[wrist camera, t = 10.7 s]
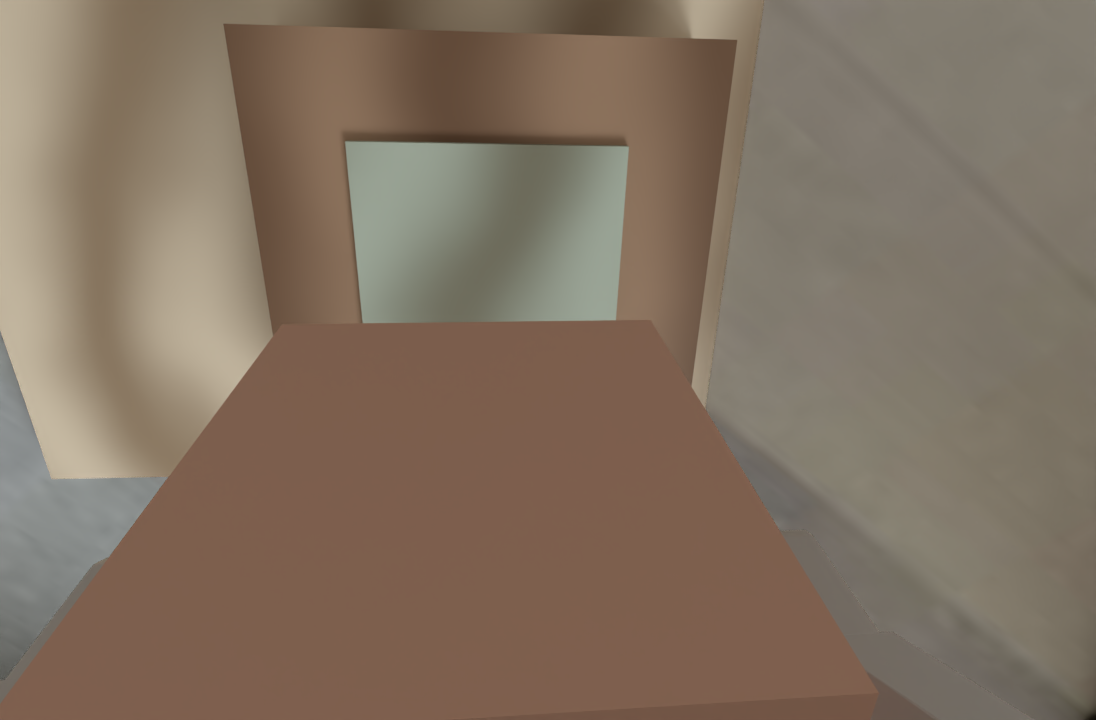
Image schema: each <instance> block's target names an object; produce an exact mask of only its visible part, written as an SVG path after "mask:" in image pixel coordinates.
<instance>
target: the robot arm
mask: <svg viewBox="0 0 1096 720" xmlns="http://www.w3.org/2000/svg"><path fill="white" fill-rule="evenodd" d="M780 532H781V534H782V535H783V537H784V539H785V540H786V542H787V544H788V545H789V547H790V548H791V550H792V552H793V553H794V555H795V557H796V558H797V560H798V561H799V563H800V565H801V566H802V568H803V570H804V571H805V573H806V575H807V576H808V578H809V579H810V581H811V583H812V584H813V586H814V588H815V589H816V591H817V593H818V594H819V596H820V597H821V599H822V601H823V602H824V604H825V606H826V607H827V609H828V610H829V612H830V614H831V615H832V617H833V619H834V620H835V622H836V624H837V625H838V627H839V628H840V630H841V632H842V633H843V635H844V637H845V638H846V640H847V641H848V643H849V645H850V646H851V648H852V650H853V651H854V653H855V655H856V656H857V658H858V659H859V661H860V663H861V664H862V666H863V668H864V669H865V671H866V673H867V674H868V676H869V677H870V679H871V681H872V682H873V684H874V686H875V687H876V689H877V690H878V692H879V695H878V698H877V701H876V704H875V707H874V710H873V713H872V716H871V719H870V720H1034V719H1033V718H1031V717H1029V716H1028V715H1026V714H1025V713H1023V712H1021V711H1020V710H1018V709H1016V708H1015V707H1013V706H1012V705H1010V704H1008V703H1007V702H1005V701H1004V700H1002V699H1000V698H999V697H997V696H995V695H994V694H992V693H991V692H989V691H987V690H986V689H984V688H982V687H981V686H979V685H978V684H976V683H974V682H973V681H971V680H970V679H968V678H966V677H965V676H963V675H961V674H960V673H958V672H957V671H955V670H953V669H952V668H950V667H949V666H947V665H945V664H944V663H942V662H940V661H939V660H937V659H936V658H934V657H932V656H931V655H929V654H928V653H926V652H924V651H923V650H921V649H919V648H918V647H916V646H915V645H913V644H911V643H910V642H908V641H907V640H905V639H903V638H902V637H900V636H898V635H897V634H895V633H894V632H879V631H878V629H877V628H876V627H875V625H874V624H873V622H872V621H871V619H870V618H869V616H868V615H867V613H866V612H865V611H864V609H863V608H862V606H861V605H860V603H859V602H858V600H857V599H856V597H855V596H854V595H853V593H852V592H851V590H850V589H849V587H848V586H847V584H846V583H845V581H844V580H843V579H842V577H841V576H840V574H839V573H838V571H837V570H836V568H835V567H834V565H833V564H832V563H831V561H830V560H829V558H828V557H827V555H826V554H825V552H824V551H823V549H822V548H821V547H820V545H819V544H818V542H817V541H816V539H815V538H814V536H813V535H812V534H810V533H809V532H807V531H806V530H789V531H780ZM107 559H108V558H105V559H103V560H101V561H100V562H98V563H96V564H94V565H93V566H92V567H91V568H90V569H89V571H88V572H87V573H86V575H85V576H84V577H83V578H82V580H81V581H80V582H79V584H78V585H77V586H76V588H75V589H74V590H73V591H72V593H71V594H70V595H69V597H68V598H67V599H66V601H65V602H64V603H63V604H62V606H61V607H60V608H59V610H58V611H57V612H56V614H55V615H54V616H53V617H52V619H51V620H50V621H49V623H48V624H47V625H46V627H45V628H44V629H43V631H42V632H41V633H40V634H39V636H38V637H37V638H36V640H35V641H34V642H33V644H32V645H31V646H30V647H29V649H28V650H27V651H26V653H25V654H24V655H23V657H22V658H21V659H20V660H19V662H18V663H17V664H16V666H15V667H14V668H13V670H12V671H11V672H10V674H9V675H8V676H7V677H6V679H5V680H0V703H1V702H2V701H3V699H4V698H5V697H6V695H7V694H8V693H9V691H10V690H11V689H12V687H13V686H14V684H15V683H16V682H17V680H18V679H19V678H20V676H21V675H22V674H23V672H24V671H25V670H26V668H27V667H28V666H29V664H30V663H31V662H32V660H33V659H34V658H35V656H36V655H37V654H38V652H39V651H40V649H41V648H42V647H43V645H44V644H45V643H46V641H47V640H48V639H49V637H50V636H51V635H52V633H53V632H54V631H55V629H56V628H57V627H58V625H59V624H60V623H61V621H62V620H63V618H64V617H65V616H66V614H67V613H68V612H69V610H70V609H71V608H72V606H73V605H74V604H75V602H76V601H77V600H78V598H79V597H80V596H81V594H82V593H83V592H84V590H85V589H86V588H87V586H88V585H89V583H90V582H91V581H92V579H93V578H94V577H95V575H96V574H97V573H98V571H99V570H100V569H101V567H102V566H103V565H104V563H105V562H106V561H107Z"/></svg>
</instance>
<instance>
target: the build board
mask: <svg viewBox="0 0 1096 720" xmlns="http://www.w3.org/2000/svg"><path fill="white" fill-rule="evenodd" d="M763 6H764V0H0V331H1V334H2V337H3V339H4V342H5V345H6V348H7V351H8V354H9V357H10V360H11V363H12V365H13V368H14V371H15V374H16V377H17V380H18V383H19V386H20V389H21V392H22V394H23V397H24V400H25V403H26V406H27V409H28V412H29V415H30V418H31V421H32V423H33V426H34V429H35V432H36V435H37V438H38V441H39V444H40V447H41V449H42V452H43V455H44V458H45V461H46V464H47V467H48V470H49V473H50V476H51V478H52V479H79V478H125V477H169V476H170V474H171V473H172V472H173V470H174V469H175V468H176V466H177V465H178V464H179V462H180V461H181V460H182V458H183V457H184V456H185V454H186V453H187V451H188V450H189V449H190V447H191V446H192V445H193V443H194V442H195V441H196V439H197V438H198V437H199V435H200V434H201V433H202V431H203V430H204V429H205V427H206V426H207V425H208V423H209V422H210V420H211V419H212V418H213V416H214V415H215V414H216V412H217V411H218V410H219V408H220V407H221V406H222V404H223V403H224V402H225V400H226V399H227V398H228V396H229V395H230V394H231V392H232V391H233V390H234V388H235V387H236V385H237V384H238V383H239V381H240V380H241V379H242V377H243V376H244V375H245V373H246V372H247V371H248V369H249V368H250V367H251V365H252V364H253V363H254V361H255V360H256V359H257V357H258V356H259V354H260V353H261V352H262V350H263V349H264V348H265V346H266V345H267V344H268V342H269V341H270V340H271V338H272V337H273V336H274V334H275V333H276V332H277V330H278V329H279V328H280V326H281V325H282V324H343V323H429V322H514V321H599V320H651V321H652V323H653V325H654V326H655V328H656V330H657V331H658V333H659V335H660V336H661V338H662V339H663V341H664V343H665V344H666V346H667V348H668V349H669V351H670V352H671V354H672V356H673V357H674V359H675V361H676V362H677V364H678V366H679V367H680V369H681V370H682V372H683V374H684V375H685V377H686V379H687V380H688V382H689V383H690V385H691V387H692V388H693V390H694V392H695V393H696V395H697V397H698V398H699V400H700V401H701V403H702V405H703V406H704V408H705V407H706V400H707V393H708V386H709V380H710V373H711V366H712V359H713V352H714V345H715V338H716V331H717V324H718V317H719V310H720V303H721V296H722V290H723V283H724V276H725V269H726V262H727V255H728V248H729V241H730V234H731V227H732V220H733V213H734V207H735V200H736V193H737V186H738V179H739V172H740V165H741V158H742V151H743V144H744V137H745V130H746V123H747V117H748V110H749V103H750V96H751V89H752V82H753V75H754V68H755V61H756V54H757V47H758V40H759V33H760V27H761V20H762V13H763Z"/></svg>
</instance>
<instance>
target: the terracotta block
mask: <svg viewBox="0 0 1096 720" xmlns="http://www.w3.org/2000/svg"><path fill="white" fill-rule="evenodd" d="M878 695H879V692H878V690H877V689H876V687H875V686H874V684H873V682H872V681H871V679H870V677H869V676H868V674H867V673H866V671H865V669H864V668H863V666H862V664H861V663H860V661H859V659H858V658H857V656H856V655H855V653H854V651H853V650H852V648H851V646H850V645H849V643H848V641H847V640H846V638H845V637H844V635H843V633H842V632H841V630H840V628H839V627H838V625H837V624H836V622H835V620H834V619H833V617H832V615H831V614H830V612H829V610H828V609H827V607H826V606H825V604H824V602H823V601H822V599H821V597H820V596H819V594H818V593H817V591H816V589H815V588H814V586H813V584H812V583H811V581H810V579H809V578H808V576H807V575H806V573H805V571H804V570H803V568H802V566H801V565H800V563H799V561H798V560H797V558H796V557H795V555H794V553H793V552H792V550H791V548H790V547H789V545H788V544H787V542H786V540H785V539H784V537H783V535H782V534H781V532H780V530H779V529H778V527H777V526H776V524H775V522H774V521H773V519H772V517H771V516H770V514H769V512H768V511H767V509H766V508H765V506H764V504H763V503H762V501H761V499H760V498H759V496H758V495H757V493H756V491H755V490H754V488H753V486H752V485H751V483H750V481H749V480H748V478H747V477H746V475H745V473H744V472H743V470H742V468H741V467H740V465H739V464H738V462H737V460H736V459H735V457H734V455H733V454H732V452H731V450H730V449H729V447H728V446H727V444H726V442H725V441H724V439H723V437H722V436H721V434H720V432H719V431H718V429H717V428H716V426H715V424H714V423H713V421H712V419H711V418H710V416H709V415H708V413H707V411H706V410H705V408H704V406H703V405H702V403H701V401H700V400H699V398H698V397H697V395H696V393H695V392H694V390H693V388H692V387H691V385H690V383H689V382H688V380H687V379H686V377H685V375H684V374H683V372H682V370H681V369H680V367H679V366H678V364H677V362H676V361H675V359H674V357H673V356H672V354H671V352H670V351H669V349H668V348H667V346H666V344H665V343H664V341H663V339H662V338H661V336H660V335H659V333H658V331H657V330H656V328H655V326H654V325H653V323H652V321H651V320H599V321H514V322H429V323H343V324H282V325H281V326H280V328H279V329H278V330H277V332H276V333H275V334H274V336H273V337H272V338H271V340H270V341H269V342H268V344H267V345H266V346H265V348H264V349H263V350H262V352H261V353H260V354H259V356H258V357H257V359H256V360H255V361H254V363H253V364H252V365H251V367H250V368H249V369H248V371H247V372H246V373H245V375H244V376H243V377H242V379H241V380H240V381H239V383H238V384H237V385H236V387H235V388H234V390H233V391H232V392H231V394H230V395H229V396H228V398H227V399H226V400H225V402H224V403H223V404H222V406H221V407H220V408H219V410H218V411H217V412H216V414H215V415H214V416H213V418H212V419H211V420H210V422H209V423H208V425H207V426H206V427H205V429H204V430H203V431H202V433H201V434H200V435H199V437H198V438H197V439H196V441H195V442H194V443H193V445H192V446H191V447H190V449H189V450H188V451H187V453H186V454H185V456H184V457H183V458H182V460H181V461H180V462H179V464H178V465H177V466H176V468H175V469H174V470H173V472H172V473H171V474H170V476H169V477H168V478H167V480H166V481H165V482H164V484H163V485H162V486H161V488H160V489H159V491H158V492H157V493H156V495H155V496H154V497H153V499H152V500H151V501H150V503H149V504H148V505H147V507H146V508H145V509H144V511H143V512H142V513H141V515H140V516H139V517H138V519H137V520H136V522H135V523H134V524H133V526H132V527H131V528H130V530H129V531H128V532H127V534H126V535H125V536H124V538H123V539H122V540H121V542H120V543H119V544H118V546H117V547H116V548H115V550H114V551H113V552H112V554H111V555H110V557H109V558H108V559H107V561H106V562H105V563H104V565H103V566H102V567H101V569H100V570H99V571H98V573H97V574H96V575H95V577H94V578H93V579H92V581H91V582H90V583H89V585H88V586H87V588H86V589H85V590H84V592H83V593H82V594H81V596H80V597H79V598H78V600H77V601H76V602H75V604H74V605H73V606H72V608H71V609H70V610H69V612H68V613H67V614H66V616H65V617H64V618H63V620H62V621H61V623H60V624H59V625H58V627H57V628H56V629H55V631H54V632H53V633H52V635H51V636H50V637H49V639H48V640H47V641H46V643H45V644H44V645H43V647H42V648H41V649H40V651H39V652H38V654H37V655H36V656H35V658H34V659H33V660H32V662H31V663H30V664H29V666H28V667H27V668H26V670H25V671H24V672H23V674H22V675H21V676H20V678H19V679H18V680H17V682H16V683H15V684H14V686H13V687H12V689H11V690H10V691H9V693H8V694H7V695H6V697H5V698H4V699H3V701H2V702H1V703H0V720H870V719H871V716H872V713H873V710H874V707H875V704H876V701H877V698H878Z"/></svg>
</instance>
